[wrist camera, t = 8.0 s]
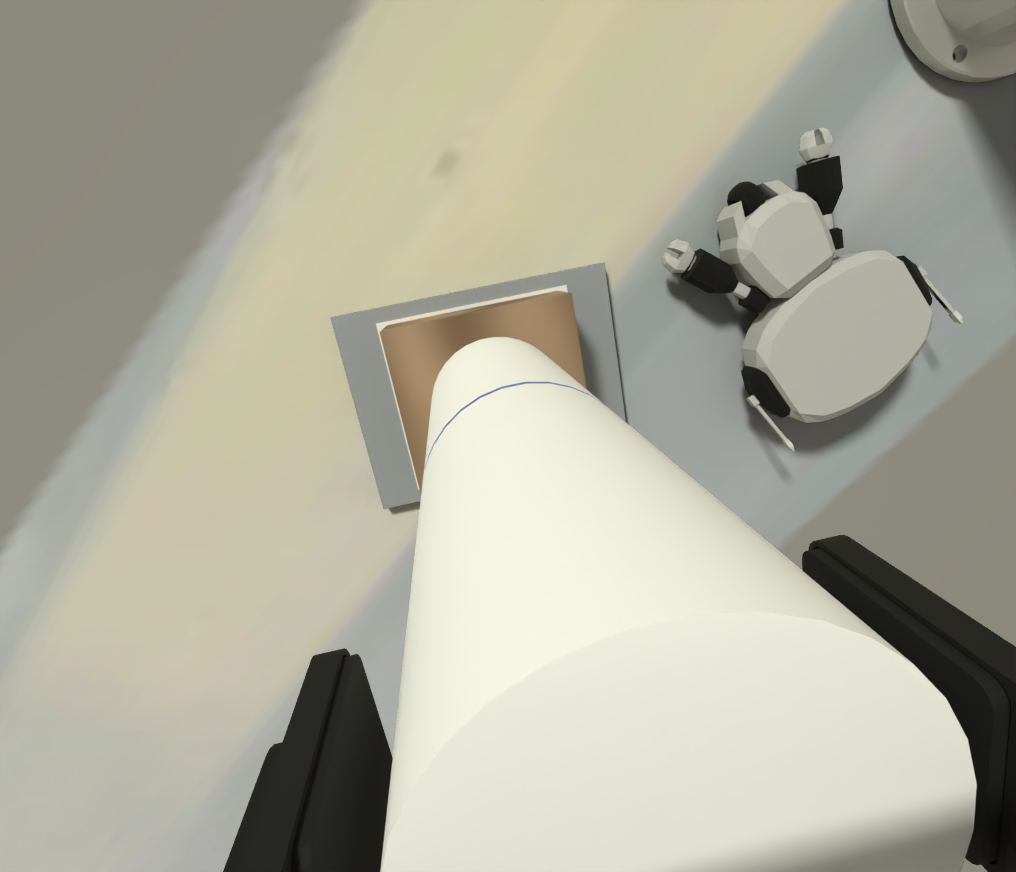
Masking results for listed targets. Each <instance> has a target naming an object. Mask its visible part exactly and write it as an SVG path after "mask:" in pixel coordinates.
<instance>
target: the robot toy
mask: <svg viewBox="0 0 1016 872" xmlns="http://www.w3.org/2000/svg"><path fill="white" fill-rule="evenodd" d="M814 133H815V136H814ZM832 144H833V139H832V136H831V134H830V131H829V130H828V129H825V128H820V129H818V130H816V131H814V130H812V131H809V132H806V133H805V134H804V135H803V136H802V137H801V139H800V145H799V153H800V155H801V156H802V158H803V159H804V161H805V162H806V163H807V165H804V166H802V167H800V168H798V169H797V175H798V184H799V192H796V191H793V190H792V189H791V188H789V187H788V186H786V185H785V184H784V183H782V182H781V181H779V180H775V181H770V182H766V183H762V184H760V185H757V186H756V185H755V184H753V183H751V182H742V183H739V184H737V185H736V186H735V187H734V188H733V189H732V190H731V191H730V192H729V194H728V200H727V203H728V206H727V207H724V208H723V209H722V211H721V213H720V215H719V218H718V220H717V222H716V223H717V228H718V232H719V236H720V240H721V243H720V249H719V253H720V257H721V259H719V258H717V257H715V256H713V255H712V254H710V253H708V252H706V251H704V250H702V249H699V250H697V251H695V252H694V251H693V249H692V247H691V246H690V244H689V243H688V242H686V241H682V240H679V239H676V240H674V241H672V242H671V243H670V244H669V245H668V247H667V249H670V250H672V251H674V252H676V253H678V254H679V255H678V257H677V259H676V258H674V257H672V256H671V255H669V254H668V253H664V255H663V257H662V260H663V265H664V266H665V267H666V268H667V269H668V270H669V271H670V272H671V273H682V275H681V278H682V279H684V280H685V281H687V282H689V283H691V284H693V285H695V286H697V287H698V288H700V289H702V290H704V291H706V292H708V293H732V294H734V295H736V296H737V297H739V305H741V306H743V307H744V308H746V309H748V310H750V311H752V312H754V313H756V314H757V313H760V312H761V313H760V314H759V315H758V316H757V318H756V319H755V320H754V322H753V323H752V325H751V326H750V328H749V330H748V331H747V334H746V337H745V340H744V343H743V346H742V353H743V359H744V363H745V367H744V368H743V370H742V371H741V373H742V377H743V380H744V385H745V389H746V391H747V392H748V393H749V395H750V396H749V397H748V398H747V399H746V400H747V401H748V403H749V404H750V405H751V406H752V407H755V408H756V409H757V410H758V411H759V413H760V414H761V415H762V416H763V417H764V419H765V420H766V421H767V422H768V424H769V425H770V426H771V427H772V428H773V430H774V431H775V432H776V433H777V434H778V436H779V437H780V438H781V439H782V440H783V441H782V442H783V443H784V444H785V445H786V447H787V448H789V449H791V450H793V451H794V445H793V444H792V443H791V442H790V440H789V439H787V438H786V437H785V436H784V435H783V433H782V432H781V431H780V430H779V428H778V427H777V426H776V425H775V424H774V422H773V421H772V420H771V419H770V418H769V416H768V415H767V414H766V413H765V412H764V411H766V412H768V413H770V414H773V415H775V416H778V417H781V418H782V417H785V416H788V417H791V418H794V419H797V420H799V421H802V422H805V423H810V422H823V421H827V420H830V419H833V418H835V417H838V416H840V415H843V414H845V413H847V412H850V411H851V410H853V409H855V408H857V407H858V406H860V405H862V404H864V403H866V402H867V401H869V400H871V399H873V398H875V397H876V396H878V395H880V394H881V393H882V392H883V391H884V390H885V389H886V388H887V387H888V386H889V385H890V384H891V383H892V382H893V381H894V380H895V379H896V378H897V377H898V376H899V375H900V374H901V373H902V372H903V371H904V370H905V369H906V368H907V367H908V366H909V365H910V363H911V362H912V361H913V360H914V358H915V357H916V356H917V355H918V353H919V352H920V350H921V349H922V347H923V346H924V344H925V342H926V339H927V337H928V334H929V332H930V330H931V325H932V316H933V311H932V310H931V308H930V305H931V304H932V297H931V295H930V292H931V293H932V294H933V296H934V297H935V298H936V299H937V300H938V301H939V303H940V304H941V305H942V306H943V307H944V308H945V310H946V311H947V312H948V313H949V314H950V315H949V316H950V317H951V319H952V320H953V321H954V322H957V323H960V324H962V325H963V317H962V316H961V315H960V314H959V313H958V311H955V310H954V309H953V308H952V306H951V305H950V304H949V303H948V302H947V301H946V299H945V298H944V297H943V296H942V295H941V294H940V292H939V291H938V290H937V289H936V288H935V287H934V286H933V284H932V283H931V282H930V281H929V280H928V279H927V277H926V275H927V273H926V272H925V270H924V269H923V268H922V267H921V266H919V267H917V266H916V265H915V264H914V263H913V262H911V261H910V260H909V259H907V258H906V257H905V256H897V257H895V256H893V255H892V254H890V253H889V252H887V251H885V250H877V251H864V252H857V253H850V254H844V255H841V256H837V257H835V258H833V256H834V253H835V250H837V249H840V248H844V246H843V237H842V229H839V228H833V219H832V212H833V210H834V208H835V206H836V204H837V201H838V199H839V196H840V194H841V191H842V189H843V184H842V175H841V165H840V156H835V157H831V158H828V157H829V154H830V151H831V148H832ZM929 291H930V292H929ZM771 298H773V299H772V300H771V301H770V299H771ZM769 301H770V302H769Z"/></svg>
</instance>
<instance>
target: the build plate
mask: <svg viewBox="0 0 1016 872" xmlns="http://www.w3.org/2000/svg"><path fill="white" fill-rule="evenodd" d="M553 291H563V292H569V293H572V298H573V304H574V311H575V317H576V324H577V330H578V337H579V343H580V350H581V356H582V363H583V369H584V376H585V382H586V389H587V390H588V391H589V392H590V393H591V394H593V395H594V396H595V397H596V398H597V399H599V400H600V401H601V402H602V403H603V404H605V405H606V406H607V407H608V408H609V409H610V410H612V411H613V412H614V413H615V414H616V415H618V416H619V417H620V418H621V419H622V420H624V421H625V422H626V419H625V412H624V404H623V397H622V390H621V382H620V375H619V367H618V360H617V352H616V345H615V338H614V330H613V323H612V315H611V308H610V301H609V293H608V286H607V278H606V271H605V264H604V263H598V264H594V265H589V266H584V267H579V268H574V269H569V270H564V271H559V272H554V273H549V274H544V275H539V276H534V277H529V278H524V279H519V280H514V281H509V282H504V283H499V284H494V285H489V286H484V287H479V288H474V289H469V290H464V291H459V292H454V293H450V294H445V295H440V296H435V297H430V298H425V299H420V300H415V301H410V302H405V303H400V304H395V305H390V306H385V307H380V308H375V309H370V310H365V311H360V312H355V313H350V314H345V315H340V316H335V317H332V318H331V321H332V325H333V329H334V332H335V336H336V339H337V343H338V347H339V350H340V354H341V358H342V361H343V365H344V368H345V372H346V376H347V379H348V383H349V386H350V390H351V394H352V397H353V401H354V404H355V408H356V412H357V415H358V419H359V422H360V426H361V430H362V433H363V437H364V440H365V444H366V448H367V451H368V455H369V458H370V462H371V466H372V469H373V473H374V476H375V480H376V484H377V487H378V491H379V494H380V498H381V502H382V505H383V509H387V508H391V507H396V506H400V505H405V504H410V503H414V502H419V501H421V493H420V489H419V485H418V482H417V478H416V474H415V470H414V466H413V462H412V458H411V454H410V450H409V446H408V442H407V438H406V434H405V430H404V427H403V423H402V419H401V415H400V411H399V407H398V403H397V399H396V395H395V391H394V387H393V383H392V379H391V375H390V372H389V368H388V364H387V360H386V356H385V352H384V348H383V344H382V340H381V336H380V331H381V330H382V329H383V328H385V327H386V326H387V325H390V324H395V323H400V322H405V321H410V320H415V319H420V318H425V317H430V316H434V315H439V314H444V313H449V312H454V311H459V310H464V309H469V308H474V307H479V306H484V305H489V304H494V303H498V302H503V301H508V300H513V299H518V298H523V297H528V296H533V295H538V294H543V293H548V292H553Z"/></svg>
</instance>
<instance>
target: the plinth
mask: <svg viewBox="0 0 1016 872" xmlns="http://www.w3.org/2000/svg"><path fill="white" fill-rule="evenodd" d="M380 336H381V340H382V344H383V348H384V352H385V356H386V360H387V364H388V368H389V372H390V375H391V379H392V383H393V387H394V391H395V395H396V399H397V403H398V407H399V411H400V415H401V419H402V423H403V427H404V430H405V434H406V438H407V442H408V446H409V450H410V454H411V458H412V462H413V466H414V470H415V474H416V478H417V482H418V485H419V489H420V493H422V484H423V475H424V466H425V456H426V447H427V438H428V429H429V419H430V410H431V401H432V394H433V389H434V384H435V382H436V379H437V377H438V374H439V373H440V371H441V369H442V368H443V366H444V365H445V363H446V362H447V361H448V360H449V359H450V358H451V357H452V356H453V355H454V354H455V353H456V352H457V351H459V350H460V349H462V348H463V347H465V346H466V345H468V344H471V343H473V342H475V341H477V340H481V339H486V338H491V337H509V338H514V339H518V340H521V341H524V342H526V343H529V344H531V345H533V346H534V347H536V348H537V349H539V350H540V351H541V352H543V353H544V354H545V355H546V356H547V357H549V358H550V359H551V360H552V361H553V362H555V363H556V364H557V365H558V366H559V367H561V368H562V369H563V370H564V371H565V372H566V373H568V374H569V375H570V376H571V377H572V378H574V379H575V380H576V381H577V382H578V383H580V384H581V385H582V386H583V387H584V388H586V382H585V376H584V369H583V363H582V356H581V350H580V343H579V337H578V330H577V324H576V317H575V311H574V304H573V298H572V293H569V292H563V291H553V292H548V293H543V294H538V295H533V296H528V297H523V298H518V299H513V300H508V301H503V302H498V303H494V304H489V305H484V306H479V307H474V308H469V309H464V310H459V311H454V312H449V313H444V314H439V315H434V316H430V317H425V318H420V319H415V320H410V321H405V322H400V323H395V324H390V325H387V326H386V327H385V328H383V329H382V330H381V331H380Z"/></svg>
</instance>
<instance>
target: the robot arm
mask: <svg viewBox="0 0 1016 872" xmlns="http://www.w3.org/2000/svg"><path fill="white" fill-rule="evenodd" d="M890 1H891V6H892V9H893V13H894V16H895V20H896V23H897V26H898V28H899V30H900V32H901V34H902V36H903V38H904V40H905V42H906V44H907V45H908V46H909V48H910V49H911V50H912V51H913V53H914V54H915V55H916V56H917V57H918V59H919V60H920V61H921V62H923V63H924V64H925V65H927V66H928V67H929V68H930V69H932V70H933V71H934V72H936V73H938V74H941V75H943V76H945V77H948V78H950V79H952V80H958V81H965V82H984V81H992V80H995V79H998V78H1002V77H1005V76H1008V75H1011V74H1014V73H1016V0H890ZM802 566H803V572H804V573H806V574H807V575H808V576H809V577H810V578H812V579H813V580H814V581H815V582H816V583H818V584H819V585H820V586H821V587H822V588H824V589H825V590H826V591H827V592H828V593H829V594H831V595H832V596H833V597H834V598H835V599H837V600H838V601H839V602H840V603H841V604H843V605H844V606H845V607H846V608H847V609H849V610H850V611H851V612H852V613H853V614H854V615H856V616H857V617H858V618H859V619H860V620H862V621H863V622H864V623H865V624H866V625H868V626H869V627H870V628H871V629H872V630H874V631H875V632H876V633H877V634H878V635H879V636H881V637H882V638H883V639H884V640H885V641H887V642H888V643H889V644H890V645H891V646H893V647H894V648H895V649H896V650H897V651H898V652H900V653H901V654H902V655H903V656H904V657H906V658H907V659H908V660H909V661H910V662H912V663H913V664H914V665H915V666H916V667H917V668H918V669H919V670H920V671H921V672H922V674H923V675H924V676H925V677H926V678H927V679H928V680H929V681H930V682H931V683H932V684H933V685H934V686H935V687H936V688H937V689H938V690H939V691H940V692H941V693H942V694H943V695H944V697H945V698H946V699H947V701H948V703H949V705H950V706H951V708H952V710H953V712H954V714H955V716H956V718H957V720H958V722H959V724H960V725H961V727H962V729H963V731H964V733H965V735H966V737H967V739H968V743H969V748H970V753H971V758H972V763H973V768H974V773H975V778H976V783H977V788H976V803H975V817H974V830H973V834H972V837H971V840H970V843H969V846H968V850H967V853H966V856H965V858H966V859H967V860H968V861H970V862H971V863H972V864H975V865H980V864H981V865H982V866H983V867H984V868H985V869H986V870H987V871H988V872H1016V647H1015V646H1013V645H1012V644H1010V643H1009V642H1007V641H1006V640H1004V639H1003V638H1001V637H1000V636H998V635H997V634H995V633H994V632H992V631H991V630H989V629H988V628H986V627H984V626H983V625H982V624H980V623H979V622H977V621H976V620H974V619H972V618H971V617H969V616H968V615H966V614H965V613H963V612H962V611H960V610H959V609H957V608H956V607H954V606H953V605H951V604H950V603H948V602H947V601H945V600H944V599H942V598H941V597H939V596H938V595H936V594H935V593H933V592H932V591H930V590H929V589H927V588H926V587H924V586H922V585H921V584H919V583H918V582H916V581H915V580H913V579H912V578H910V577H909V576H907V575H906V574H904V573H903V572H901V571H900V570H898V569H897V568H895V567H894V566H892V565H891V564H889V563H888V562H886V561H885V560H883V559H882V558H880V557H878V556H877V555H876V554H874V553H872V552H871V551H869V550H868V549H866V548H865V547H863V546H862V545H860V544H859V543H857V542H856V541H854V540H853V539H851V538H850V537H848V536H845V535H838V536H834V537H830V538H826V539H821V540H817V541H813V542H812V543H811V544H810V546H809V551H805V552H804V553H803V557H802ZM392 760H393V758H392V755H391V752H390V749H389V745H388V742H387V739H386V736H385V733H384V730H383V726H382V723H381V720H380V717H379V714H378V711H377V708H376V704H375V701H374V698H373V695H372V692H371V689H370V686H369V682H368V679H367V676H366V673H365V670H364V667H363V663H362V660H361V658H360V656H359V655H358V654H355V655H351V656H350V654H349V652H348V651H347V649H345V648H344V649H340V650H335V651H331V652H327V653H322V654H318V655H315V656H313V657H312V659H311V662H310V665H309V668H308V670H307V673H306V676H305V679H304V682H303V685H302V688H301V691H300V694H299V696H298V699H297V702H296V705H295V708H294V711H293V714H292V717H291V720H290V723H289V725H288V728H287V731H286V734H285V737H284V740H283V742H282V743H278V744H274V745H273V746H272V747H271V748H270V749H269V751H268V753H267V755H266V757H265V760H264V763H263V765H262V768H261V771H260V774H259V776H258V779H257V782H256V784H255V787H254V790H253V792H252V795H251V798H250V801H249V803H248V806H247V809H246V811H245V814H244V817H243V819H242V822H241V825H240V828H239V830H238V833H237V836H236V838H235V841H234V844H233V847H232V849H231V852H230V855H229V857H228V860H227V863H226V865H225V868H224V871H223V872H380V870H381V861H382V852H383V842H384V833H385V824H386V815H387V806H388V797H389V787H390V778H391V769H392Z"/></svg>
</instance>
